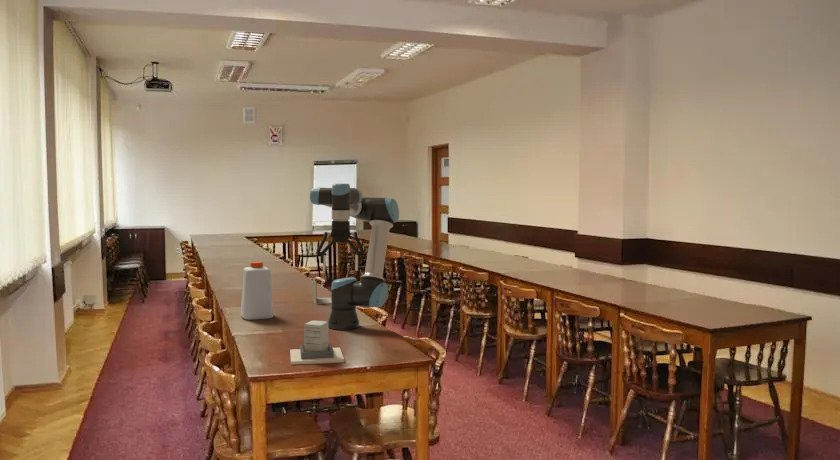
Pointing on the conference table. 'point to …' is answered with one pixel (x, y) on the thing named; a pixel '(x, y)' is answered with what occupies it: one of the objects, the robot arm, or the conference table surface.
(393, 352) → the conference table surface
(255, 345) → the conference table surface
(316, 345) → the supplement box
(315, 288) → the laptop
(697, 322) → the conference table surface
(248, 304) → the plastic bottle
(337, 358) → the base plate
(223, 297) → the conference table surface
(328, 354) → the collar
